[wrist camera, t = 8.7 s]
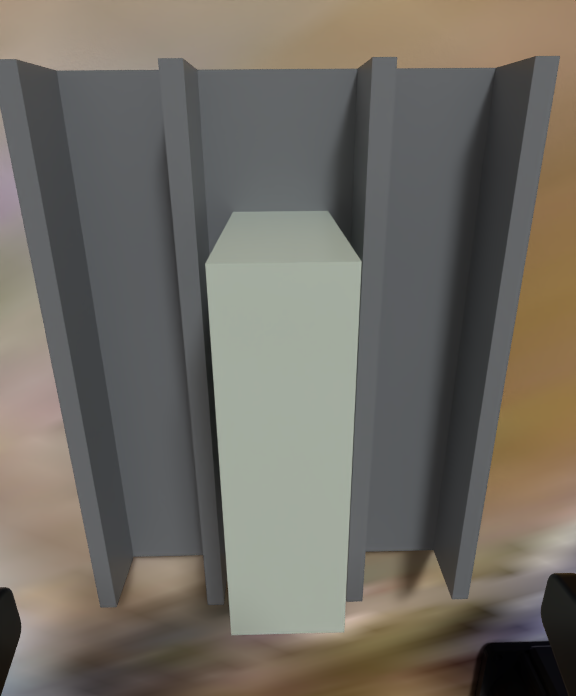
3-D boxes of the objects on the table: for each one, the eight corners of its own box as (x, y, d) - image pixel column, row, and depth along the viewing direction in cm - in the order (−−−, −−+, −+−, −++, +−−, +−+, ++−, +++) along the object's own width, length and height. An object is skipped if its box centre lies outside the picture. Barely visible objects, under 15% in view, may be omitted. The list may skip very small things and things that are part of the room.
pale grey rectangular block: (322, 473, 20) (344, 632, 14) (245, 474, 20) (231, 634, 14) (328, 211, 16) (361, 261, 10) (233, 211, 16) (205, 263, 10)
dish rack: (442, 532, 23) (470, 598, 20) (123, 539, 23) (97, 607, 19) (505, 71, 16) (564, 55, 13) (45, 74, 16) (-13, 59, 12)
